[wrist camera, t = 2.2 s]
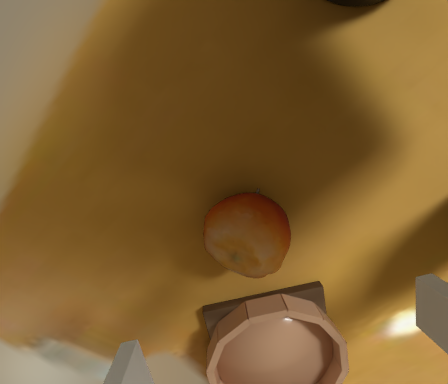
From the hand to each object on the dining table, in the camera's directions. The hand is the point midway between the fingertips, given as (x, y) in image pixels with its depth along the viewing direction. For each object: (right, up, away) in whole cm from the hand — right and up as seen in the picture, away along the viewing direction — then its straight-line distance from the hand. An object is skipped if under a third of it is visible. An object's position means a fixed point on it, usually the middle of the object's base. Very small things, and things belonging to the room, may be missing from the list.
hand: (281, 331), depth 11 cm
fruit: (-1, +3, +14) cm, 15 cm away
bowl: (+3, -13, +17) cm, 22 cm away
